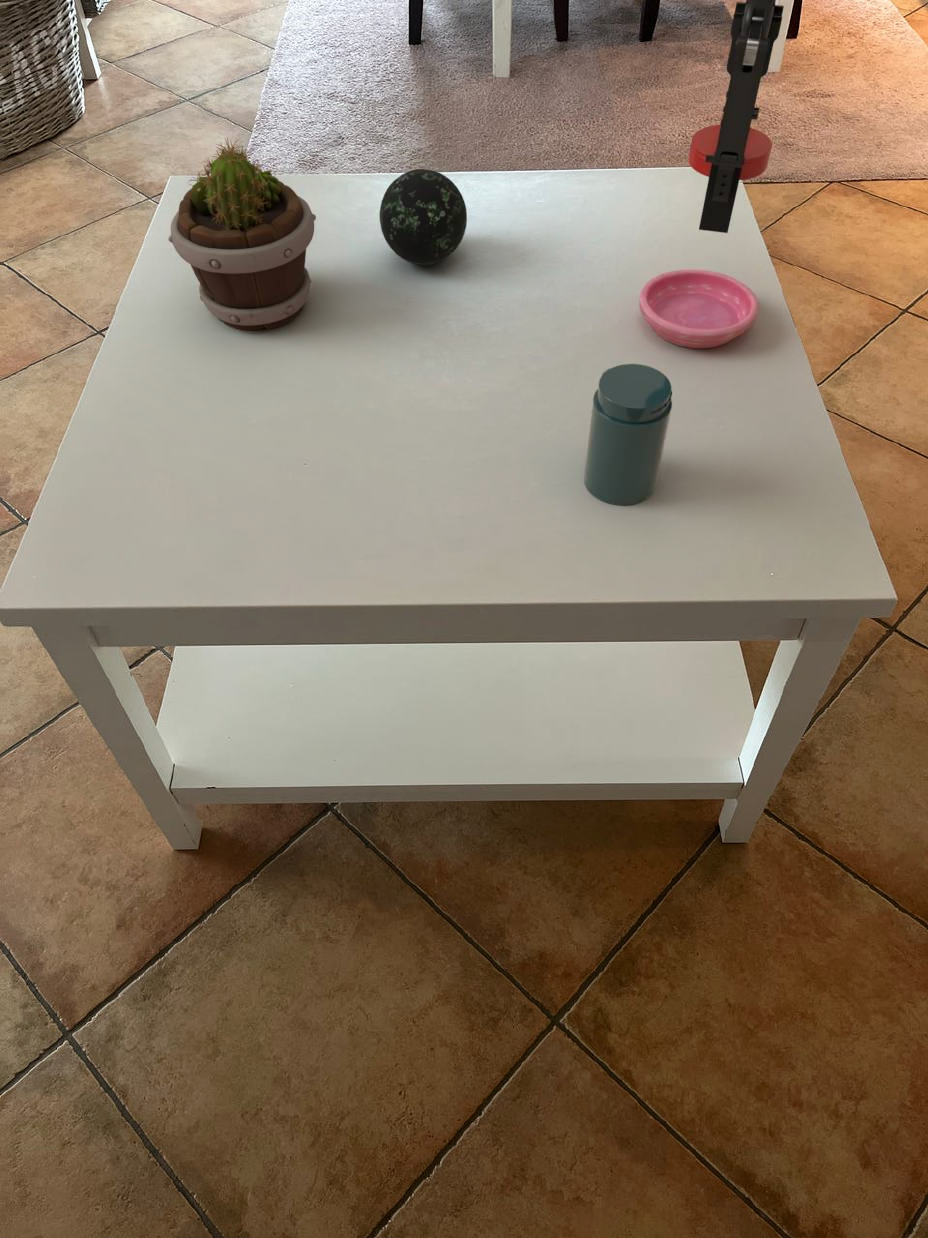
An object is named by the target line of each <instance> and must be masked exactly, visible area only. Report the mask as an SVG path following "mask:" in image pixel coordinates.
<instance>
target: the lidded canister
mask: <svg viewBox="0 0 928 1238" xmlns="http://www.w3.org/2000/svg"><path fill="white" fill-rule="evenodd" d="M672 389H673V388H672V384H671V381H670V380H669V378H668V377H667V376H666V375H665V374H664V372H663V373H662V372H661V371H660V370H658V369H656V368H654V367H652V366H649V365H645V364H640V363H625V364H620V365H619V364H618V365H615V366H613V367H611V368H608V369H607V370H605V371H604V372H603V373H602V375H601V376H600V378H599V381H598V387H597V389H596V390H595V392H594V394H593V398H592V406H591V416H590V423H589V432H588V439H587V448H586V457H585V466H584V474H583V482H584V485H585V488H586V489H587V491H588V492H589V493H590V494H591V495H592V496H593V497H595V498H596V499H597V500H600V501H602V502H603V503H607V504H609V505H610V504H611V505H616V506H631V505H636V504H639V503H642V502H644V501H646V500H648V499H649V498H650V497H651V496H652V494H653V493H654V492H655V491H656V487H657V482H658V478H659V473H660V468H661V464H662V458H663V454H664V448H665V443H666V439H667V433H668V428H669V423H670V419H671V415H672V409H673V400H672V396H673V391H672Z"/></svg>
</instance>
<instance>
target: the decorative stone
mask: <svg viewBox="0 0 928 1238" xmlns="http://www.w3.org/2000/svg"><path fill="white" fill-rule="evenodd" d="M467 222H468V213H467V205H466V202H465V199H464V196H463V195H462V193H461V191H460V190H459V188H458V187H457V185H456V184H455V183H454V182H453V181H452V180H451V179H450V178H449V177H447V176H446V175H445V174H443V173H441V172H439V171H435V170H433V169H427V168H415V169H412V170H409V171H407V172H404V173H402V174H401V175H400V176H398V177H397V178H396V179H394V180H393V181H392V182H391V183H390V184H389V186H388V187H387V188H386V190H385V192H384V194H383V197H382V199H381V203H380V208H379V225H380V229H381V233H382V235H383V239H384V240H385V242H386V243H387V246H389V248H390V249H391V250H392V252H394V254H395V255H397V256H398V257H400V259H403V260H405V262H409V263H412V264H417V265H424V266H425V265H426V266H427V265H428V266H429V265H433V264H436V263H440V262H442V261H444V260H445V259H447V258H448V257H449V256H451V255H452V254H453V253H454V252H455V251H456V250H457V248H458V247H459V246H460V244H461V243H462V242H463V241H462V240H463V239H464V236H465V233H466V229H467V224H468V223H467Z"/></svg>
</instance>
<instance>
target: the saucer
mask: <svg viewBox="0 0 928 1238" xmlns="http://www.w3.org/2000/svg"><path fill="white" fill-rule="evenodd" d="M638 301H639V303H638V305H639V309H640V312H641V314H642V316H643V317H644V319H645V321H646V322H647V324H648V325H649V326H650V327H651V329H652V330H653V331H654V332H655V333H656V335H657V336H659V337H660V338H662V339H663V340H665V341H667V342H669V343H671V344H674V345H677V346H679V347H683V348H690V349H709V348H715V347H720V346H722V345H724V344H727V343H729V342H730V341H733V339H735V338H737V337H738V336H740V335H742V334H743V333H744V332H745V331H748V330H749V328H751V327H752V326H753V324H754V323H755V321H756V318H757V316H758V311H759V301H758V298H757V296H756V294H755V293H754V292H753V290H751V288H749V286H747V285H746V284H745V283H743V282H742V281H740V280H738V279H736V278H734V277H732V276H729V275H727V274H723V273H720V272H715V271H711V270H704V269H680V270H671V271H668V272H663V273H660V274H658V275H656V276H654V277H652V278H651V279H650V280H648V281H647V282H645V285H644V286H643V287H642V288H641V291H640V294H639V299H638Z"/></svg>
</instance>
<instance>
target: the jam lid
mask: <svg viewBox="0 0 928 1238" xmlns="http://www.w3.org/2000/svg"><path fill="white" fill-rule="evenodd" d="M720 128H721V125H720V124H715V125H709V126H706V127H702V128H700V129H699V130H697V131H696V132H694V134H693V136H692V137H691V143H690V149H689V154H688V163H689V166H690V167H691V168H692V169H693V170H694V171H695V172H697V173H699V175H702V176H705V177H708V178H709V175H710V170H711V165H712V163H707V162H705V160H706V155H713V154H714V153H715V151H716V148H717V143H718V138H719V133H720ZM769 137H770V136H768V135H767V134H766V133H764V132H762V131H760V130H758V129H755V128H752V127H750V130H749V135H748V139H747V144H746V148H745V153H744V156H745V161H744V164H743V166H742V170H741V175H740V179H739V181H745V180H750V179H754V178H756V177H759V176H760V175H762V174H764V173H765V171H766V170H767V168H768V164H769V161H770V156H771V152H772V148H773V142H772V140H771V138H769Z"/></svg>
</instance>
